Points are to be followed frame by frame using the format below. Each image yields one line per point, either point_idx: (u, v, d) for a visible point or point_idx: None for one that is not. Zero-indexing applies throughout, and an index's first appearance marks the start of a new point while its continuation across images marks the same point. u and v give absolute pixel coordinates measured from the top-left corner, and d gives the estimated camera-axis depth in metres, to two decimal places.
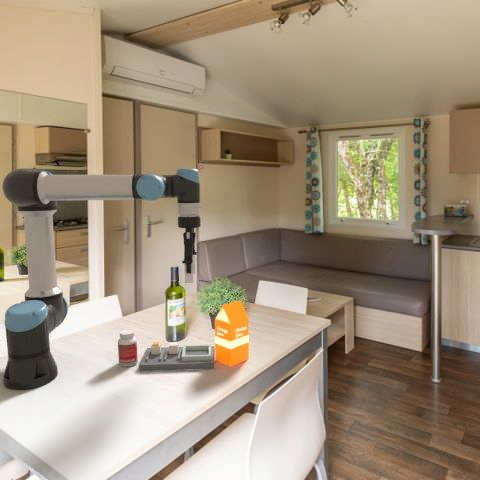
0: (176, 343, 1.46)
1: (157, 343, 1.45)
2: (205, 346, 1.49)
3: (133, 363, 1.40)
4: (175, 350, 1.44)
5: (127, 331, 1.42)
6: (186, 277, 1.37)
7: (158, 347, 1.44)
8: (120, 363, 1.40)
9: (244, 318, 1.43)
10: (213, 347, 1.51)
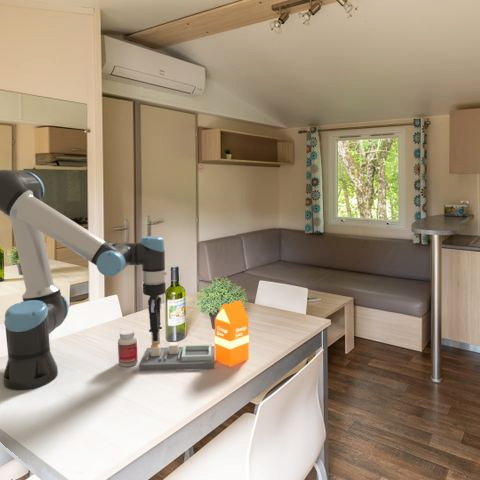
0: (176, 343, 1.46)
1: (156, 344, 1.44)
2: (205, 346, 1.49)
3: (133, 363, 1.40)
4: (175, 350, 1.44)
5: (127, 331, 1.42)
6: None
7: (158, 348, 1.43)
8: (120, 363, 1.40)
9: (244, 318, 1.43)
10: (213, 347, 1.51)
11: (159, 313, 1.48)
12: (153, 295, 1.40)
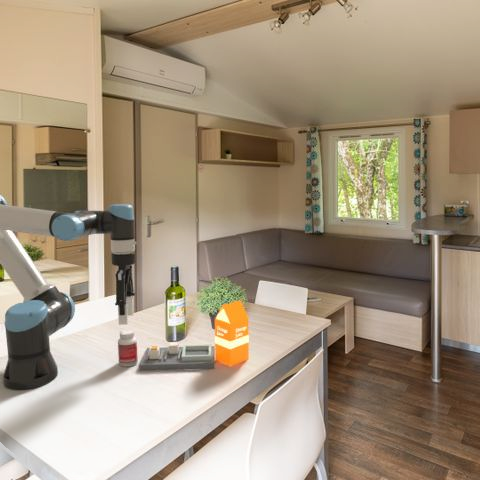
0: (176, 343, 1.46)
1: (155, 347, 1.42)
2: (205, 346, 1.49)
3: (133, 363, 1.40)
4: (175, 350, 1.44)
5: (127, 331, 1.42)
6: (120, 318, 1.35)
7: (157, 351, 1.40)
8: (120, 363, 1.40)
9: (244, 318, 1.43)
10: (213, 347, 1.51)
11: (131, 282, 1.45)
12: None
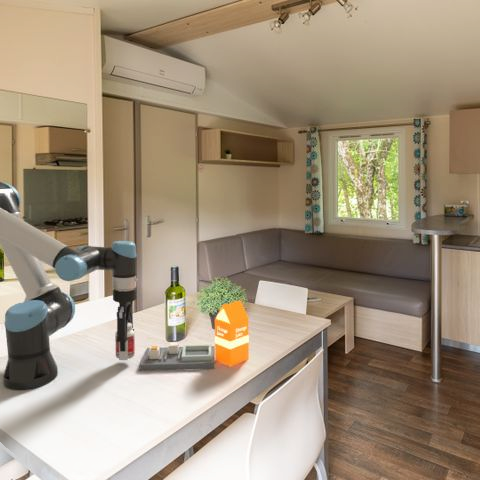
0: (176, 343, 1.46)
1: (155, 347, 1.42)
2: (205, 346, 1.49)
3: (130, 356, 1.40)
4: (175, 350, 1.44)
5: None
6: (120, 354, 1.38)
7: (157, 351, 1.40)
8: (117, 355, 1.40)
9: (244, 318, 1.43)
10: (213, 347, 1.51)
11: (131, 317, 1.46)
12: None
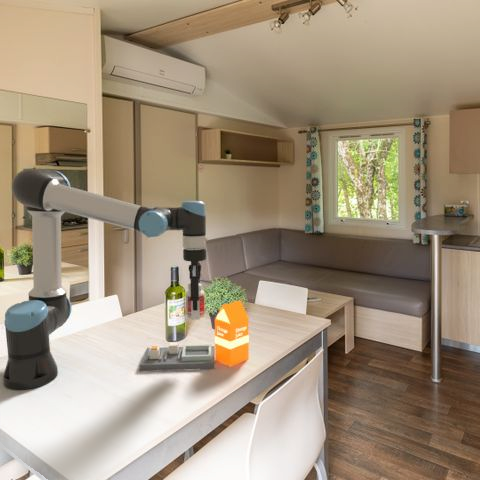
0: (176, 343, 1.46)
1: (155, 347, 1.42)
2: (205, 346, 1.49)
3: (201, 315, 1.41)
4: (175, 350, 1.44)
5: None
6: (192, 314, 1.39)
7: (157, 351, 1.40)
8: (188, 315, 1.40)
9: (244, 318, 1.43)
10: (213, 347, 1.51)
11: (199, 279, 1.46)
12: None
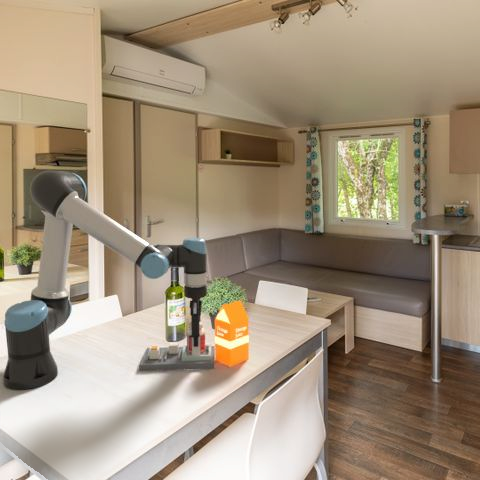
0: (176, 343, 1.46)
1: (155, 347, 1.42)
2: (205, 346, 1.49)
3: (202, 354, 1.42)
4: (175, 350, 1.44)
5: None
6: (193, 350, 1.40)
7: (157, 351, 1.40)
8: (189, 354, 1.42)
9: (244, 318, 1.43)
10: (213, 347, 1.51)
11: None
12: None
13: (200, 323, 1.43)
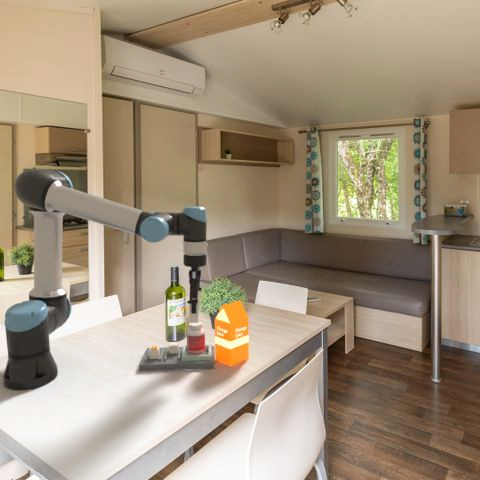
0: (176, 343, 1.46)
1: (155, 347, 1.42)
2: (205, 346, 1.49)
3: (202, 354, 1.42)
4: (175, 350, 1.44)
5: None
6: (191, 317, 1.35)
7: (157, 351, 1.40)
8: (189, 354, 1.42)
9: (244, 318, 1.43)
10: (213, 347, 1.51)
11: None
12: None
13: (200, 323, 1.43)
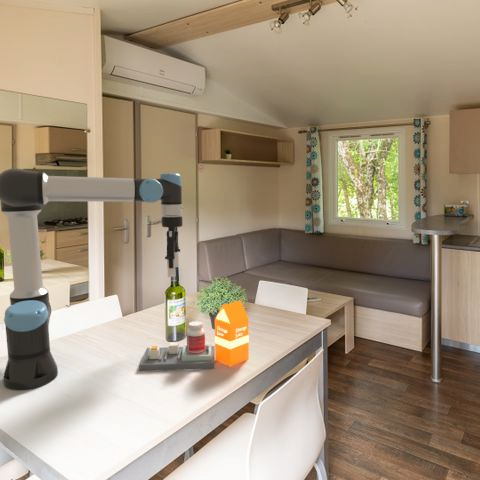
0: (176, 343, 1.46)
1: (155, 347, 1.42)
2: (205, 346, 1.49)
3: (202, 354, 1.42)
4: (175, 350, 1.44)
5: (195, 323, 1.44)
6: (169, 271, 1.51)
7: (157, 351, 1.40)
8: (189, 354, 1.42)
9: (244, 318, 1.43)
10: (213, 347, 1.51)
11: (177, 241, 1.64)
12: None
13: (200, 323, 1.43)
